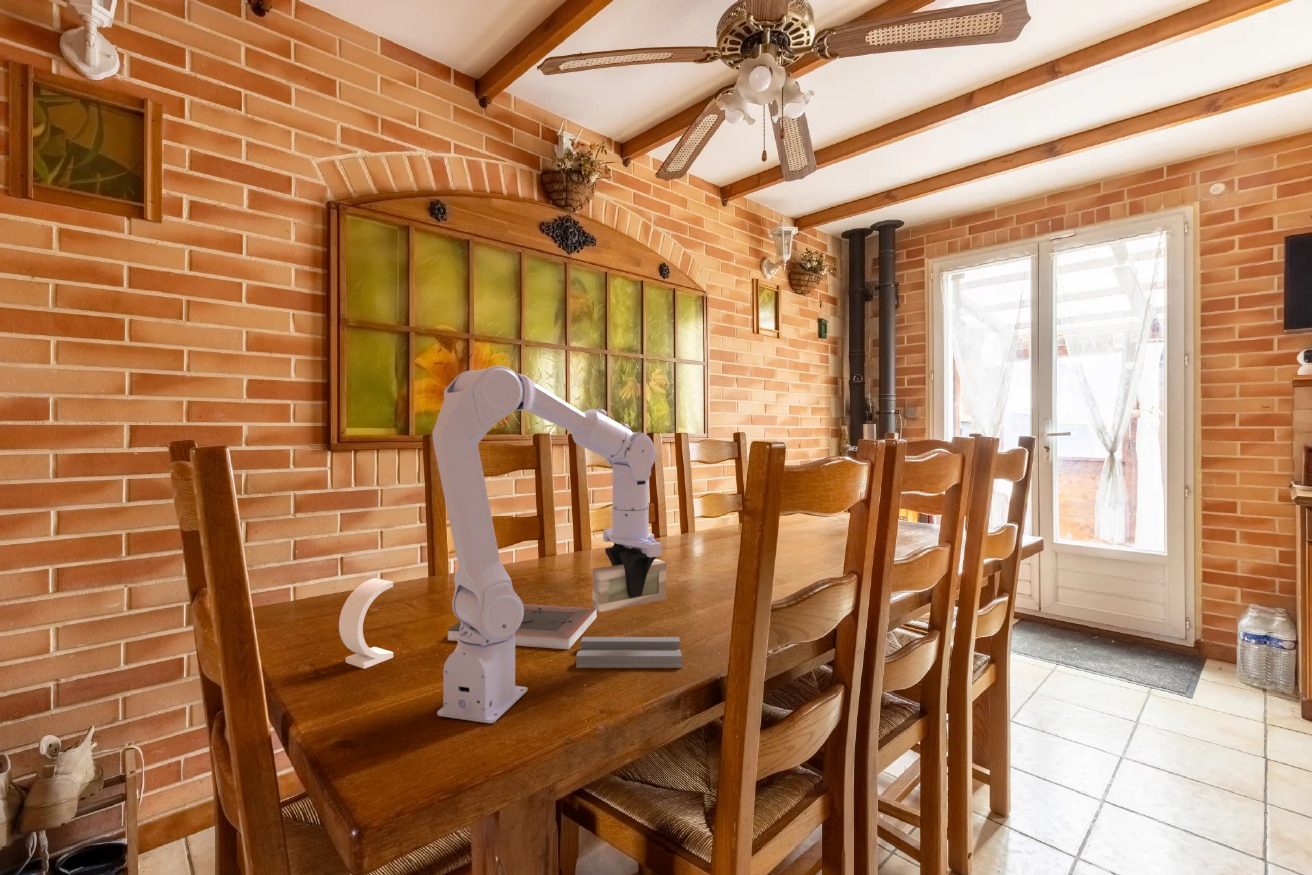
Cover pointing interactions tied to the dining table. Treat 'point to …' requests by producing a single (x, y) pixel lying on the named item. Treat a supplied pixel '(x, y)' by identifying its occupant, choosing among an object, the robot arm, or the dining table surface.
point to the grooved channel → (629, 652)
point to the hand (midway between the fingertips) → (630, 593)
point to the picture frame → (547, 626)
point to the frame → (614, 588)
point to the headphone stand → (361, 624)
